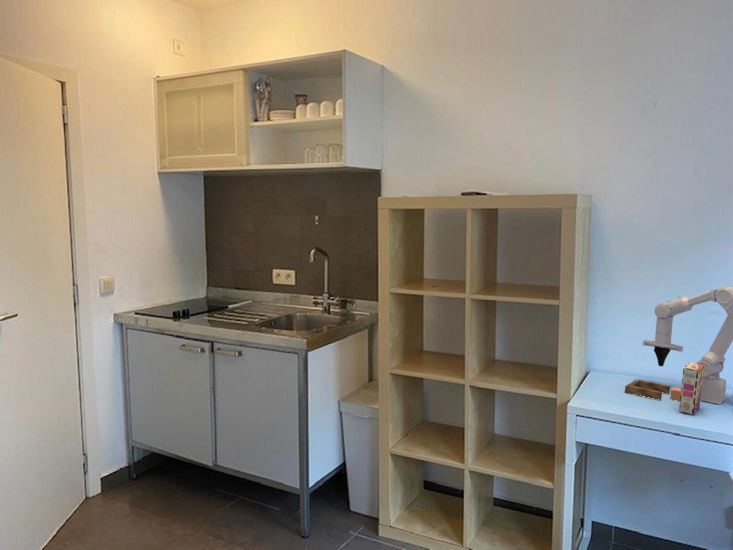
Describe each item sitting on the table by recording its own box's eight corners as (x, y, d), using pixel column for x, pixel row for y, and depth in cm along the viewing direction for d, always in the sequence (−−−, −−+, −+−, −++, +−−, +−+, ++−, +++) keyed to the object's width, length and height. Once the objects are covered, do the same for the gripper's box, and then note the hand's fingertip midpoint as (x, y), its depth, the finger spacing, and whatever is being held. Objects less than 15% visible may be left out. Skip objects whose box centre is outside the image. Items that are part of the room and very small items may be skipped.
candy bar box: (694, 416, 208) (698, 370, 206) (678, 412, 211) (682, 367, 209) (700, 407, 216) (704, 363, 214) (685, 404, 219) (689, 361, 217)
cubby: (669, 393, 231) (670, 386, 231) (660, 400, 223) (660, 392, 223) (635, 386, 240) (635, 378, 240) (624, 392, 232) (625, 385, 231)
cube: (683, 399, 225) (684, 389, 225) (682, 402, 222) (683, 391, 222) (671, 397, 228) (672, 387, 227) (670, 400, 224) (671, 389, 224)
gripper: (686, 334, 236) (683, 367, 238) (647, 328, 246) (645, 360, 247) (681, 337, 231) (678, 371, 232) (642, 331, 240) (639, 363, 242)
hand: (660, 365), depth 240 cm, fingers closed
